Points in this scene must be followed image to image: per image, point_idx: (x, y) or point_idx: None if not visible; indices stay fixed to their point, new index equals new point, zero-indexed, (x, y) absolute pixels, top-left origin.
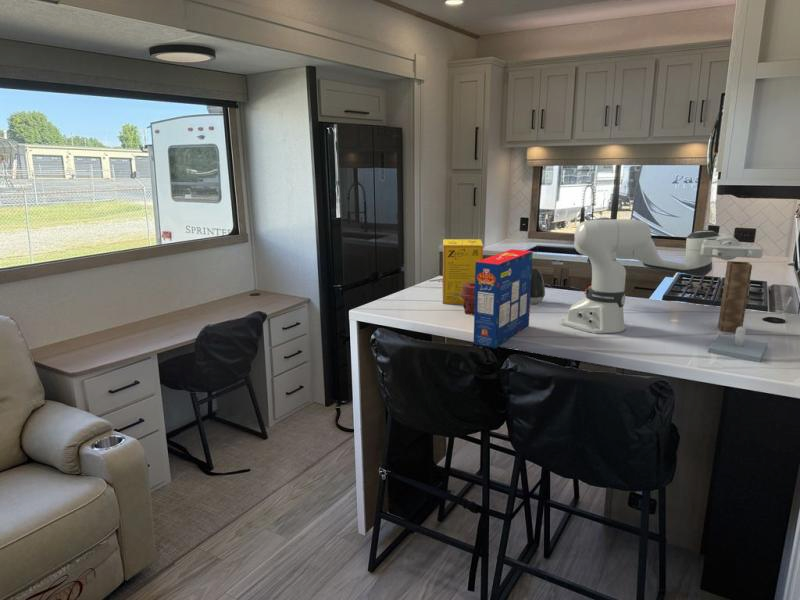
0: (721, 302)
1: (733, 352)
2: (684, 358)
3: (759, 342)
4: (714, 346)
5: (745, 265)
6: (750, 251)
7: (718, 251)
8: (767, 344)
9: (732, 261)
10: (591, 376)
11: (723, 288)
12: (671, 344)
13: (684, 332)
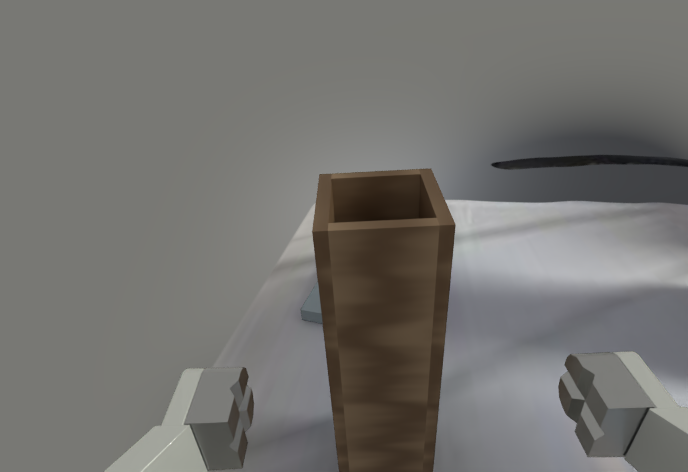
0: (435, 429)
1: None
2: (481, 225)
3: (320, 309)
4: None
5: (353, 173)
6: (146, 449)
7: (618, 353)
8: (303, 306)
9: (420, 221)
10: (580, 156)
11: (441, 374)
12: (530, 274)
13: (533, 371)
